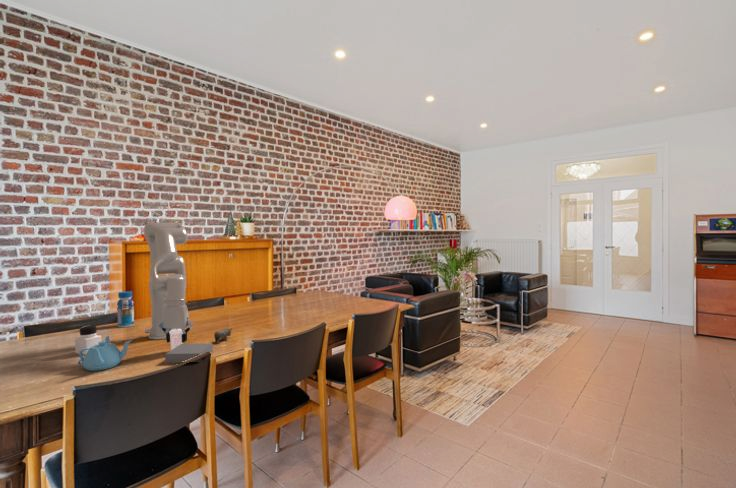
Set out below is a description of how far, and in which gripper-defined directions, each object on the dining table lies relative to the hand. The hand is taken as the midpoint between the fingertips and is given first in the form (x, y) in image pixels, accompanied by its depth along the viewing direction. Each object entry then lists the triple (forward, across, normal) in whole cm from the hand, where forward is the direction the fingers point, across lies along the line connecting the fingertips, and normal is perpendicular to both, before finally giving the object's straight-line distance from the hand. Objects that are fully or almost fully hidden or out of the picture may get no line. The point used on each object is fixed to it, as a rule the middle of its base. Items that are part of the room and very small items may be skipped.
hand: (176, 341), depth 168 cm
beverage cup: (+4, 0, 0) cm, 4 cm away
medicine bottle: (+5, -40, 0) cm, 40 cm away
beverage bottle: (+6, -54, +48) cm, 73 cm away
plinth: (+4, +10, -10) cm, 15 cm away
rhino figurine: (+5, +16, +16) cm, 23 cm away
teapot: (+5, -20, -18) cm, 27 cm away
